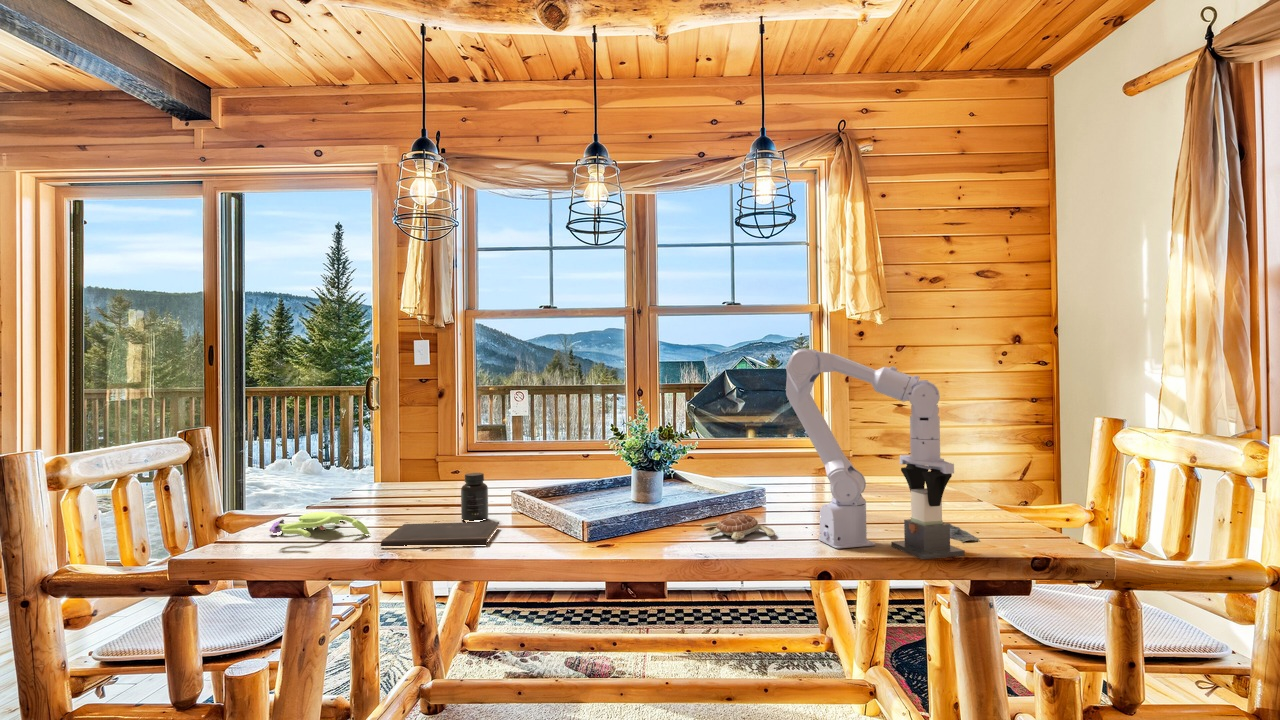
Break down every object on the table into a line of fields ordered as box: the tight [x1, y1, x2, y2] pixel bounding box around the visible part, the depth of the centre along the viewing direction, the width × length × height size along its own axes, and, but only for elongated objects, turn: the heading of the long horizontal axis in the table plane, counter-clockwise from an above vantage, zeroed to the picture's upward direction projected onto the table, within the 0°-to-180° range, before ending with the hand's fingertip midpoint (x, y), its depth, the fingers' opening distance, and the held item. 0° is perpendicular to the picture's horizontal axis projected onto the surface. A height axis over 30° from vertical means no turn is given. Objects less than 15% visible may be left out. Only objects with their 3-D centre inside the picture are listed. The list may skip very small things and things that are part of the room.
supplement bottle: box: [460, 472, 489, 521], centre depth 168 cm, size 7×7×12 cm
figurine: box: [269, 511, 371, 538], centre depth 154 cm, size 18×27×6 cm
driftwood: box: [946, 522, 980, 543], centre depth 151 cm, size 21×7×2 cm, turn 176°
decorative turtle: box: [701, 512, 776, 540], centre depth 151 cm, size 18×17×5 cm
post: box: [910, 487, 944, 526], centre depth 135 cm, size 4×4×9 cm
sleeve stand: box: [890, 518, 966, 560], centre depth 135 cm, size 10×10×6 cm
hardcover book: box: [380, 521, 500, 547], centre depth 150 cm, size 16×23×2 cm
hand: (926, 503), depth 135 cm, fingers open, 5 cm apart
